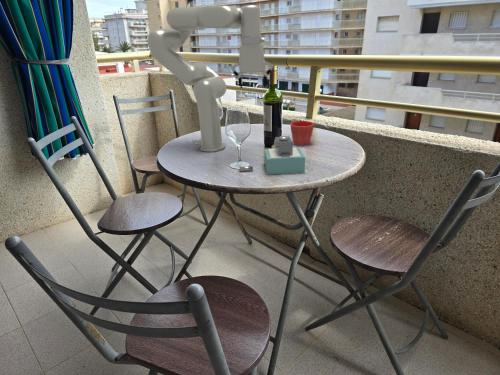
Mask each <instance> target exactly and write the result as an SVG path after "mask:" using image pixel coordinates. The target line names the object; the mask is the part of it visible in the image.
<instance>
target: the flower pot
mask: <svg viewBox="0 0 500 375" xmlns="http://www.w3.org/2000/svg"><path fill="white" fill-rule="evenodd" d="M289 125H290V131H291V137H292V142H293V145H295V144H296V145H295V146H300V145H303V146H307V145H310V143H311V138H312V135H313V131H314V126H315V124H314V122H312V121H307V120H296V121H295V120H294V121H292V122H290V124H289Z"/></svg>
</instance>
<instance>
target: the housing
mask: <svg viewBox="0 0 500 375" xmlns="http://www.w3.org/2000/svg"><path fill="white" fill-rule="evenodd" d="M274 140H275V150H276V152H277V155H278V156H282V157H290V155H293V147H294V143H293V139H291V137H290V136H289V135H281V136H275V137H274Z"/></svg>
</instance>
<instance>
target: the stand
mask: <svg viewBox="0 0 500 375" xmlns="http://www.w3.org/2000/svg"><path fill="white" fill-rule="evenodd" d="M263 153H264V154H263V155H264V166H265V169H266V174H267V175H281V174H283V175H284V174H300V173H302V174H303V173H306V172H305V171H306V156H305V155H304V153H303V151H302V150H301V148H300V147H294V146H293V155H290V157H282V156H278V155H277V152H276V150H275V149H272V148H265V149H264V151H263Z"/></svg>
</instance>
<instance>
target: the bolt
mask: <svg viewBox="0 0 500 375" xmlns="http://www.w3.org/2000/svg"><path fill="white" fill-rule="evenodd" d="M253 168H254V167H253V166H252V165H246V166H239V173H242V172H243V173H245V172H247V173H248V172H253V171H254V170H253Z"/></svg>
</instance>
